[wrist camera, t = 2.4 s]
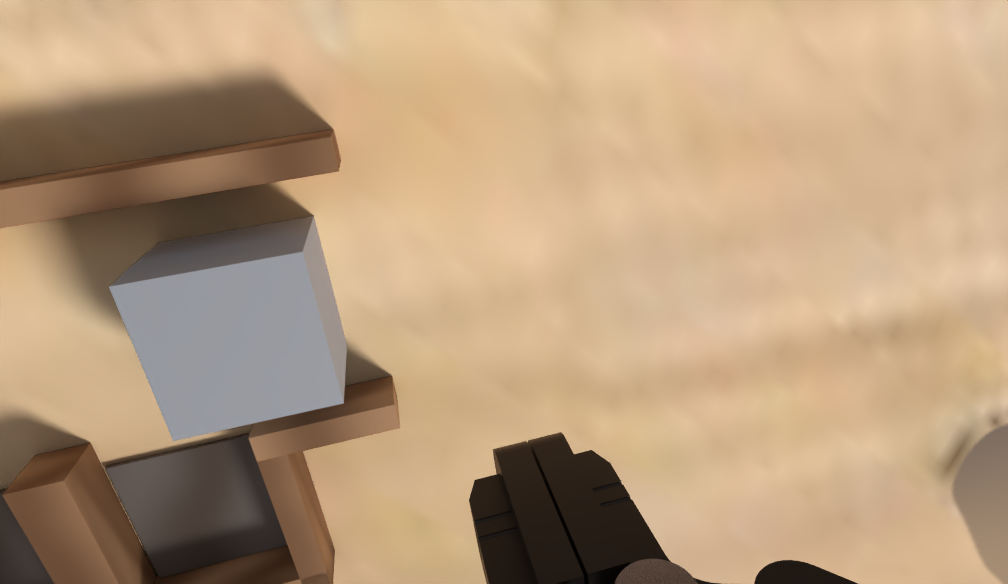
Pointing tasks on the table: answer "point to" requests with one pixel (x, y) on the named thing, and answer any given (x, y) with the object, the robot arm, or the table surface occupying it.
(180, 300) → the block
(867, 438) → the table surface
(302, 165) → the trap lane
